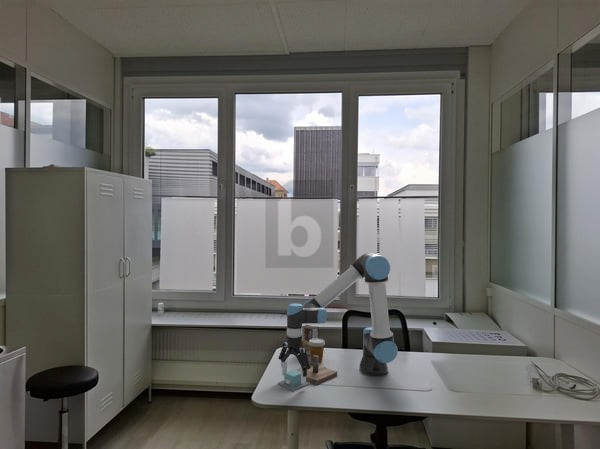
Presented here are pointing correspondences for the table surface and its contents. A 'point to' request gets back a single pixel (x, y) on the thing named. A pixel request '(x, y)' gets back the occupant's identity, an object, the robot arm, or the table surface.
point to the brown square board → (318, 372)
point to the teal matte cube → (292, 377)
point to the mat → (292, 386)
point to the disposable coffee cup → (316, 348)
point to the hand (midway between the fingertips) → (293, 378)
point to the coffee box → (308, 336)
